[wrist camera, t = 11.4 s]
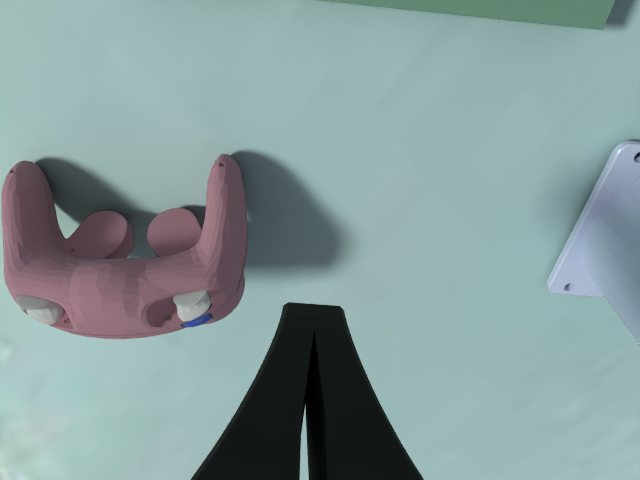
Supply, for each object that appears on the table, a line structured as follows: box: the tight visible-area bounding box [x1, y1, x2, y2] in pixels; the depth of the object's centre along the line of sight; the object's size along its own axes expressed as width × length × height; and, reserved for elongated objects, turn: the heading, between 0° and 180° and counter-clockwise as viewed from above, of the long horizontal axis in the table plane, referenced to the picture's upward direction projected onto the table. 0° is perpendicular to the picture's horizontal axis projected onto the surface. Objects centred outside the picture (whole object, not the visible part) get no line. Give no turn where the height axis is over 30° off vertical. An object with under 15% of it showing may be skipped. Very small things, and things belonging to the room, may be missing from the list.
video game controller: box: [1, 154, 248, 339], centre depth 19 cm, size 10×5×7 cm, turn 92°
